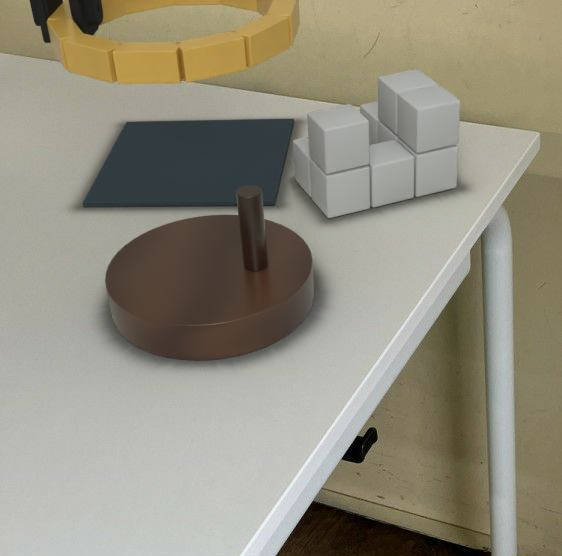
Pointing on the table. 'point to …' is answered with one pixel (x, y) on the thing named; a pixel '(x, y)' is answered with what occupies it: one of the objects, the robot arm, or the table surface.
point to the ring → (173, 44)
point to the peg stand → (212, 284)
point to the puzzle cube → (381, 147)
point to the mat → (192, 163)
